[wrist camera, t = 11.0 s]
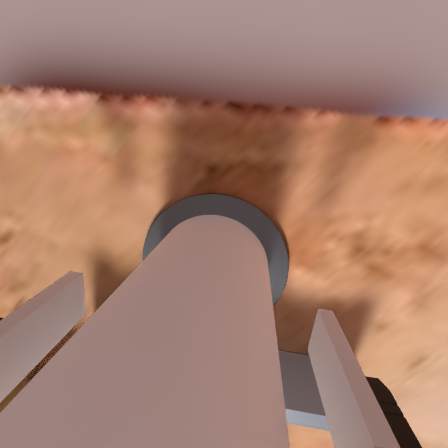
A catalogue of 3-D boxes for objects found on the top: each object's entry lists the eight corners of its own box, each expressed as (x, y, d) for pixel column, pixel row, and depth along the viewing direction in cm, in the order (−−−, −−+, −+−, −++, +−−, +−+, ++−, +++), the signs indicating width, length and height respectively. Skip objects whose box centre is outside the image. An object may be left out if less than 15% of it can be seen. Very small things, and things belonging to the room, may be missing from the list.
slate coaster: (143, 314, 22) (141, 317, 21) (145, 184, 18) (143, 185, 18) (274, 335, 21) (274, 338, 21) (301, 204, 18) (302, 205, 17)
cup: (253, 202, 18) (253, 572, 2) (278, 304, 20) (360, 842, 5) (144, 228, 19) (-282, 561, 4) (178, 321, 21) (-11, 770, 6)
